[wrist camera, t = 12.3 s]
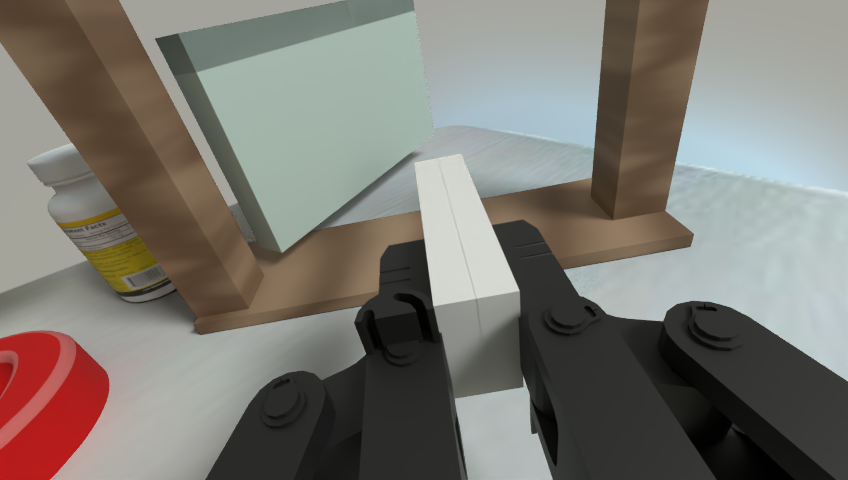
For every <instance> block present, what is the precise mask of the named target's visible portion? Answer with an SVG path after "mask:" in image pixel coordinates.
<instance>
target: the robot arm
mask: <svg viewBox="0 0 848 480" xmlns="http://www.w3.org/2000/svg"><path fill="white" fill-rule="evenodd" d="M415 171H416V179H417V186H418V194H419V201H420V209H421V216H422V224H423V232H424V239H421V240H415V241H410V242H404V243H399V244H393V245H388V247H387V249H386V250H385V252H384V253H383V255H382V256H381V258H380V275H379V294H378V295H376V296H375V297H373V298H371V299H370V300H368V301H367V302H366V303H365V304H364V305H363V307H362V308H361V309H360V310H359V311H358V314H357V316H356V319H355V322H354V323H355V326H356V329H357V331H358V334H359V336H360V339H361V341H362V344H363V346H364V349H365V352H366V355H365V356H364V357H363V358H362V359H360V360H359V361H358V362H357V363H356V364H354V365H352V366H350V367H349V368H347V369H345V370H343V371H341V372H339V373H337V374H334V375H332V376H330V377H328V378H326V379H324V380H322V381H321V380H320V379H319V378H318V377H317V376H316V375H315V374H313V373H309V372H305V371H297V372H290V373H287V374H284V375H282V376H280V377H278V378H276V379H273V380H272V381H271V382H270V383H268V384H267V385H266V386H264V387H263V388H262V389H261V390H260V391H259V392H258V393H257V395H256V396H255V397H254V398H253V400H252V401H251V402H250V404H249V405H248V407H247V409H246V410H245V412H244V414H243V416H242V417H241V419H240V421H239V423H238V424H237V426H236V428H235V429H234V431H233V433H232V435H231V436H230V438H229V440H228V442H227V443H226V445H225V447H224V448H223V450H222V452H221V454H220V455H219V457H218V459H217V461H216V462H215V464H214V466H213V467H212V469H211V471H210V473H209V474H208V476H207V478H206V480H468V477H467V470H466V464H465V458H464V451H463V445H462V439H461V432H460V426H459V421H458V417H457V412H456V406H455V398H461V397H467V396H473V395H479V394H485V393H491V392H497V391H503V390H508V389H514V388H520V387H523V376H524V379H525V382H526V385H527V388H528V390H529V393H530V423H531V432H532V434H535V433H537V432H538V435H539V438H540V441H541V444H542V448H543V451H544V454H545V457H546V460H547V463H548V466H549V469H550V472H551V475H552V478H553V480H848V381H846V380H845V379H843V378H842V377H840V376H838V375H837V374H835V373H834V372H832V371H831V370H829V369H828V368H826V367H825V366H823V365H822V364H820V363H819V362H817V361H815V360H814V359H812V358H811V357H809V356H808V355H806V354H805V353H803V352H802V351H800V350H799V349H797V348H796V347H794V346H793V345H791V344H789V343H788V342H786V341H785V340H783V339H782V338H780V337H779V336H777V335H776V334H774V333H773V332H771V331H770V330H768V329H766V328H765V327H763V326H762V325H760V324H759V323H757V322H756V321H754V320H753V319H751V318H750V317H748V316H746V315H744V314H742V313H740V312H738V311H736V310H734V309H732V308H730V307H727V306H723V305H720V304H716V303H712V302H701V301H690V302H685V303H680V304H677V305H675V306H674V307H672V308H671V309H669V310H668V311H667V313H666V316H665V318H664V321H649V320H636V319H626V318H619V317H614V316H611V315H608V314H606V313H605V312H604V311H603V310H602V309H601V308H600V307H599V306H598V305H597V304H596V303H594V302H592V301H590V300H588V299H586V298H584V297H581V296H579V295H578V293H577V291H576V290H575V288H574V287H573V285H572V283H571V282H570V280H569V278H568V277H567V275H566V274H565V272H564V270H563V269H562V267H561V265H560V264H559V262H558V261H557V259H556V257H555V256H554V254H552V251H551V249H550V248H549V246H548V244H547V243H546V242H545V240H544V238H543V236H542V235H541V233H540V232H539V230H538V228H536V227H534V226H533V225H531V224H530V223H528V222H526V221H525V220H523V219H522V220H517V221H511V222H506V223H500V224H495V225H491V223H490V221H489V218H488V216H487V214H486V211H485V209H484V207H483V204H482V202H481V200H480V197H479V195H478V193H477V190H476V188H475V186H474V183H473V181H472V179H471V176H470V174H469V172H468V169H467V167H466V165H465V162H464V160H463V157H462V155H461V154H457V155H452V156H446V157H441V158H436V159H431V160H426V161H420V162H415Z"/></svg>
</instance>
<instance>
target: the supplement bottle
mask: <svg viewBox="0 0 848 480" xmlns="http://www.w3.org/2000/svg"><path fill="white" fill-rule="evenodd" d="M27 165H28V166H29V167H30V168H31V170H32V171H33V172H34V174H35V175H36V176H37V178H38V179H39V180H40V181H41V182H43V183H44V185H45V186H47V187H52V188H53V189H54V190H55V192H56V194H55V195H54V196H53V197H52V198H51V199H50V201H49V203H48V212H49V214H50V215H51V217H52V218H53V219H54V221H55V222H56V223H57V224H58V225H59V227H60V228H61V229H62V230H63V231H64V232H65V234H66V235H67V236H68V237H69V238H70V239H71V240H72V242H73V243H74V244H75V245H76V246H77V248H78V249H79V250H80V251H81V252H82V253H83V254H84V256H86V258H87V259H88V260H89V261H90V263H91V264H92V265H93V266H94V267H95V268H96V269H97V271H98V272H99V273H100V274H101V275H102V276H103V278H104V279H105V280H106V281H107V282H108V284H109V285H110V286H111V287H112V288H113V289H114V290H115V291H116V292H117V293H118V295H119V296H120V297H122V298H123V299H124V300H126V301H130V302H143V301H148V300H152V299H155V298H158V297H161V296H163V295H165V294H168V293H170V292H172V291H173V290H175V289H176V288H175V286H174V285H173V283H172V282H171V281H170V279H169V278H168V276H167V275H166V274H165V272H164V271H163V269H162V268H161V267H160V265H159V264H158V262H157V261H156V260H155V258H154V257H153V255H152V254H151V253H150V251H149V250H148V248H147V247H146V246H145V244H144V243H143V241H142V240H141V239H140V237H139V236H138V234H137V233H136V232H135V230H134V229H133V227H132V226H131V225H130V223H129V222H128V220H127V219H126V218H125V216H124V215H123V213H122V212H121V211H120V209H119V208H118V206H117V205H116V204H115V202H114V201H113V199H112V198H111V197H110V195H109V194H108V192H107V191H106V190H105V188H104V187H103V185H102V184H101V183H100V181H99V180H98V178H97V177H96V176H95V174H94V173H93V171H92V170H91V169H90V167H89V166H88V164H87V163H86V162H85V160H84V159H83V157H82V156H81V155H80V153H79V152H78V150H77V149H76V148H75V146H74V145H73V143H71V144H68V145H65V146H62V147H59V148H56V149H53V150H51V151H48V152H45V153H43V154H41V155H38V156H36V157H34V158H32V159H30V160H29V161H28V162H27Z"/></svg>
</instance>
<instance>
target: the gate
mask: <svg viewBox="0 0 848 480" xmlns="http://www.w3.org/2000/svg"><path fill="white" fill-rule="evenodd" d="M155 40H156V42H157V44H158V46H159V48H160V50H161V51H162V53H163V55H164V57H165V59H166V61H167V63H168V65H169V67H170V69H171V71H172V73H173V75H174V77H175V79H176V81H177V83H178V85H179V87H180V89H181V91H182V93H183V95H184V97H185V99H186V101H187V103H188V104H189V107H190V109H191V111H192V113H193V114H194V116H195V118H196V120H197V122H198V124H199V126H200V128H201V130H202V132H203V134H204V136H205V138H206V140H207V142H208V144H209V146H210V148H211V150H212V152H213V154H214V156H215V158H216V159H217V162H218V164H219V166H220V168H221V170H222V172H223V173H224V175H225V177H226V179H227V181H228V183H229V185H230V187H231V189H232V191H233V193H234V195H235V197H236V199H237V201H238V203H239V205H240V207H241V209H242V211H243V213H244V215H245V217H246V219H247V221H248V223H249V225H250V227H251V229H252V231H253V233H254V235H255V237H256V238H257V240H258V242H259V244H260V246H261V248H265V249H269V250H273V251H277V252H281V253H283V252H284V251H285V250H286V249H288V248H289V247H290V246H292V245H293V244H294V243H295V242H297V241H298V240H299V239H301V238H302V237H303V236H304V235H306V234H307V233H308V232H310V231H311V230H312V229H313V228H315V227H316V226H317V225H319V224H320V223H321V222H322V221H324V220H325V219H326V218H328V217H329V216H330V215H331V214H333V213H334V212H335V211H337V210H338V209H339V208H340V207H342V206H343V205H344V204H345V203H347V202H348V201H349V200H351V199H352V198H353V197H354V196H356V195H357V194H358V193H360V192H361V191H362V190H363V189H365V188H366V187H367V186H369V185H370V184H371V183H372V182H374V181H375V180H376V179H378V178H379V177H380V176H381V175H383V174H384V173H385V172H387V171H388V170H389V169H390V168H392V167H393V166H394V165H396V164H397V163H398V162H399V161H401V160H402V159H403V158H404V157H406V156H407V155H408V154H410V153H411V152H412V151H413V150H415V149H416V148H417V147H419V146H420V145H421V144H422V143H424V142H425V141H426V140H428V139H429V138H430V137H431V136H433V135H434V134H435V133H434V127H433V120H432V115H431V108H430V102H429V96H428V90H427V83H426V77H425V71H424V65H423V60H422V52H421V46H420V40H419V34H418V28H417V21H416V16H415V9H414V3H413V0H345V1H340V2H335V3H330V4H325V5H320V6H315V7H309V8H304V9H300V10H294V11H289V12H284V13H279V14H274V15H269V16H264V17H259V18H254V19H249V20H244V21H239V22H234V23H229V24H224V25H219V26H214V27H208V28H203V29H198V30H194V31H189V32H183V33H178V34H174V35H170V36H165V37H161V38H156V39H155Z"/></svg>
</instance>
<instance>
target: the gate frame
mask: <svg viewBox="0 0 848 480" xmlns="http://www.w3.org/2000/svg"><path fill="white" fill-rule="evenodd" d="M708 2H709V0H606V9H605V22H604V34H603V47H602V60H601V73H600V85H599V97H598V110H597V123H596V135H595V148H594V160H593V173H592V178H590V179H585V180H579V181H574V182H569V183H564V184H558V185H553V186H548V187H542V188H537V189H532V190H526V191H521V192H516V193H511V194H505V195H500V196H495V197H489V198H484V199H480V200H481V202H482V204H483V207H484V209H485V211H486V214H487V216H488V218H489V221H490V223H491V225H495V224H500V223H506V222H511V221H517V220H522V219H523V220H525V221H526V222H528V223H530V224H531V225H533V226H534V227H536V228H538V230H539V232H540V233H541V235H542V236H543V238H544V240H545V242H546V243H547V244H548V246H549V248H550V249H551V251H552V254H554V256H555V257H556V259H557V261H558V262H559V264H560V265H561V267H562V269H567V268H573V267H579V266H584V265H590V264H595V263H601V262H606V261H612V260H617V259H623V258H628V257H634V256H640V255H645V254H651V253H656V252H662V251H667V250H673V249H678V248H684V247H690V246H691V243H692V240H693V236H694V233H692V232H691V231H690V230H688V229H687V228H686V227H685V226H683V225H682V224H681V223H680V222H678V221H677V220H676V219H675V218H673V217H672V216H671V215H670V214H668V213H667V212H666V211H665V209H666V204H667V200H668V195H669V190H670V185H671V180H672V175H673V171H674V166H675V161H676V156H677V151H678V146H679V141H680V137H681V132H682V127H683V122H684V118H685V113H686V108H687V103H688V98H689V94H690V88H691V83H692V79H693V74H694V69H695V65H696V60H697V55H698V50H699V45H700V40H701V36H702V31H703V26H704V21H705V16H706V11H707V6H708ZM0 42H1V44H2V45H3V47H4V48H5V50H6V51H7V52H8V54H9V55H10V57H11V58H12V59H13V61H14V62H15V64H16V65H17V66H18V68H19V69H20V71H21V72H22V73H23V75H24V76H25V78H26V79H27V80H28V82H29V83H30V85H31V86H32V87H33V88H34V90H35V92H36V93H37V94H38V96H39V97H40V98H41V100H42V101H43V103H44V104H45V105H46V107H47V108H48V110H49V111H50V113H51V114H52V115H53V117H54V118H55V120H56V121H57V122H58V124H59V125H60V127H61V128H62V129H63V131H64V132H65V133H66V135H67V136H68V138H69V139H70V141H71V142H72V143H73V145H74V146H75V148H76V149H77V150H78V152H79V153H80V155H81V156H82V157H83V159H84V160H85V162H86V163H87V164H88V166H89V167H90V169H91V170H92V171H93V173H94V174H95V176H96V177H97V178H98V180H99V181H100V183H101V184H102V185H103V187H104V188H105V190H106V191H107V192H108V194H109V195H110V197H111V198H112V199H113V201H114V202H115V204H116V205H117V206H118V208H119V209H120V211H121V212H122V213H123V215H124V216H125V218H126V219H127V220H128V222H129V223H130V225H131V226H132V227H133V229H134V230H135V232H136V233H137V234H138V236H139V237H140V239H141V240H142V241H143V243H144V244H145V246H146V247H147V248H148V250H149V251H150V253H151V254H152V255H153V257H154V258H155V260H156V261H157V262H158V264H159V265H160V267H161V268H162V269H163V271H164V272H165V274H166V275H167V276H168V278H169V279H170V281H171V282H172V283H173V285H174V286H175V288H176V289H177V290H178V292H179V293H180V295H181V296H182V297H183V299H184V300H185V302H186V303H187V304H188V306H189V307H190V309H191V310H192V311H193V313H194V314H195V316H196V317H197V320H196V321H195V323H194V326H195V328H196V329H197V330H198V332H199V333H200V334H207V333H212V332H218V331H223V330H229V329H234V328H240V327H245V326H251V325H257V324H262V323H268V322H273V321H279V320H284V319H290V318H295V317H301V316H307V315H312V314H318V313H323V312H329V311H334V310H340V309H345V308H351V307H357V306H362V305H364V304H365V303H366V302H367V301H368V300H370V299H371V298H373V297H375V296H376V295H378V294H379V275H380V258H381V256H382V255H383V253H384V252H385V250H386V249H387V247H388V245H393V244H399V243H404V242H410V241H415V240H421V239H424V232H423V224H422V216H421V210H420V211H415V212H410V213H405V214H399V215H394V216H389V217H383V218H378V219H373V220H367V221H362V222H357V223H352V224H346V225H341V226H336V227H330V228H325V229H320V230H314V231H310V232H308V233H307V234H306V235H304V236H303V237H302V238H301V239H299V240H298V241H297V242H295V243H294V244H293V245H292V246H290V247H289V248H288V249H286V250H285V251H284V252H283V253H281V252H277V251H273V250H269V249H265V248H261V246H260V244H259V242H258V241H256V242H251V243H247V242H246V240H245V238H244V236H243V234H242V232H241V230H240V228H239V227H238V225H237V223H236V221H235V219H234V217H233V215H232V213H231V211H230V210H229V208H228V206H227V204H226V202H225V200H224V198H223V196H222V194H221V193H220V191H219V189H218V187H217V185H216V183H215V181H214V179H213V178H212V176H211V174H210V172H209V170H208V168H207V166H206V164H205V163H204V160H203V159H202V157H201V155H200V153H199V151H198V149H197V147H196V145H195V143H194V142H193V140H192V138H191V136H190V134H189V132H188V130H187V128H186V126H185V125H184V123H183V121H182V119H181V117H180V115H179V113H178V111H177V109H176V108H175V106H174V104H173V102H172V100H171V98H170V96H169V94H168V93H167V90H166V89H165V87H164V85H163V83H162V81H161V79H160V77H159V75H158V73H157V72H156V70H155V68H154V66H153V64H152V62H151V60H150V58H149V56H148V55H147V53H146V51H145V49H144V47H143V46H142V43H141V41H140V40H139V38H138V36H137V34H136V32H135V30H134V28H133V26H132V24H131V23H130V21H129V19H128V17H127V15H126V13H125V11H124V9H123V7H122V5H121V4H120V2H119V0H0Z"/></svg>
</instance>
